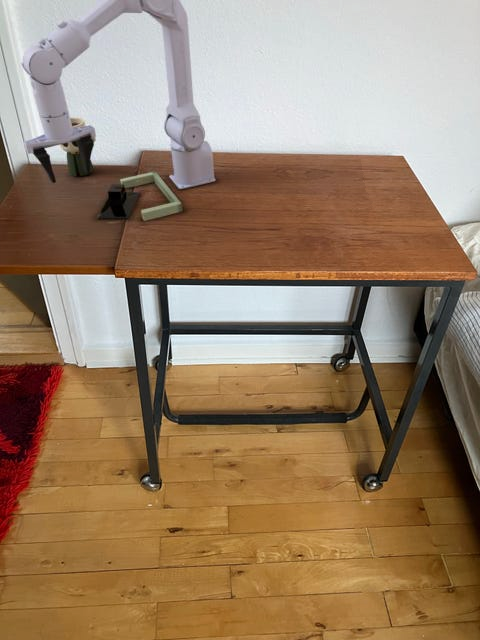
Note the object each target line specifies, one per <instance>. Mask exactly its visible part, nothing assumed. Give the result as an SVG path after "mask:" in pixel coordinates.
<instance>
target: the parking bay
mask: <svg viewBox="0 0 480 640" xmlns="http://www.w3.org/2000/svg"><path fill="white" fill-rule="evenodd" d="M150 178H153V179H150ZM143 179H148V180H144V181H139V182H136V181H137V180H143ZM119 182H120V184H124V186H125V189H130V188H133V187H138V186H143V185H147V184H150V183H151V184H152V183H155V185H156V186H157V187H158V188H159V190H160V191H161V192H162V194H163V195H164V196H165V198H166V199H167V200H168V201H169V202H168V203H164V204H161V205H157V206H152V207H149V208H145V209H140V213H141V218H142V220H143V221H144V222H146V221H149V220H150V221H151V220H154V219H158V218H161V217H166V216H170V215H173V214H179V213H182V212H183V204H182V202H181V201H180V200H179V198H178V197H177V196H176V194H175V193H174V192H173V191H172V190H171V189H170V188H169V186H168V185H167V184H166V182H165V181H164V179H162V177H160V174H158V173H157V172H156V171H151V172H147V173H142V174H137V175H133V176H128V177H124V178H119Z"/></svg>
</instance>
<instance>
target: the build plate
mask: <svg viewBox="0 0 480 640" xmlns="http://www.w3.org/2000/svg"><path fill="white" fill-rule="evenodd" d="M107 195H108V197H107V199H106V200H105V201H106V202H105V203H104V205H103V207H102V209H101V210H100V212H99V214H98V215H97V217H96V218H97V220H107V221H108V220H110V221H111V220H119V221H121V220H122V221H123V220H126V221H127V220H129V219H130V217H131V215H132V212H133V210H134V208H135V206H136V204H137V202H138V200H139V197H140V195H141V192H138V191H137V192H136V191H135V192H134V191H133V192H132V191H129V192H127V188H125V186H124V184H121V183H120V184H119V183H115V184H114V183H113V184H111V185H110V187H109V188H108V190H107Z"/></svg>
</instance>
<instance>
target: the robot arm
mask: <svg viewBox="0 0 480 640" xmlns="http://www.w3.org/2000/svg"><path fill="white" fill-rule="evenodd" d="M143 12H144V13H147V14H149V16H150V17H152V18H153V19H154V20H155V21H156V22H158V23H159V24H160V25H161V30H162V40H163V48H164V60H165V69H166V70H165V71H166V80H167V81H166V82H167V90H168V101H169V103H168V105H167V106H166V108H165V119H164V123H163V129H164V132H165V134H166V135H167V137H169V138H170V139H169V140H170V152H171V159H172V161H171V162H172V168H173V174H170V175H169V179H170V180H171V181H172V182H173V184H174V185H175V186H176V187H177V188H178V189H179V190H185V189H189V188H193V187H197V186H201V185H206V184H209V183H214V182H216V177H215V167H214V166H215V165H214V155H213V150H212V147H211V145H210V143H209V141H207V140H205V137H206V131H205V128H204V126H203V124H202V121H201V115H200V113H199V111H198V109H197V107H196V106H195V103H194V92H193V91H194V90H193V77H192V62H191V47H190V35H189V34H190V33H189V23H188V21H189V20H188V19H189V18H188V13H187V11H186V9H185V8H184V6H183V4H182V2H181V0H99V1H98V2H97V3H96V4H95V5H94V6H93V7H91V8H90V10H88V11H87V12H86V13H85V14H84V15H83V16H82V17H81V18H80V19H79V20H74V19H69V18H68V19H67V20H66V21H64V20H62V19H60V20H59V21H58V22H57V23H56V25H57V27H56V29H54V30H53V31H52V32H51V33H49V34H48V35H47V36H46V37H45V38H42V37H40V38H39V39H38V40H37V43H38V44H39V45H38V44H37V45H30V46H29V47H27V48H26V49H25V51H24V52H23V56H22V62H21V67H22V68H23V70H24V71H25V72H26V74H28V75H29V80H30V86H31V87H32V94H33V98H34V101H35V105H36V108H37V112H38V115H39V119H40V123H41V127H42V130H43V133H44V134H41V135H39V136H36V137H34V138H32V139H29V140H25V141H23V142H22V143H23V146H24V150H25V152H26V153H27V154H28V155H31V154H33V155H34V157H35V158H36V160H37V161H38V162H39V164H41V166H42V167H43V169H44V171H45V173H46V174H47V176H48V179H49V181H50V182H51V183H52V184H56V183H57V178H56V176H55V173H54V171H53V166H52V162H51V156H50V154H49V153H48V151H47V150H46V149H49V148H52V147H56V146H60V144H64V143H68V142H72V141H76V143H77V146H78V149H79V152H80V156H81V161H82V166H83V169H84V171H85V172H86V173H89V174H91V173H90V159H91V157H92V152H93V150H94V147H95V142H94V141H93V139H91V137H95V138H96V137H97V134H96V128H95V127H94V126H93V125H92V124H90V125H89V124H88V125H85V126H83V127H75V128H72V124H71V120H70V118H71V116H70V112H69V108H68V104H67V100H66V96H65V90H64V87H63V85H62V80H61V76H62V73H63V69H65V68H66V67H68V66H69V65H70V64H71V63H73V62H74V61H75V60H76V59H77V58H78V57H79V56H81V55H82V54H83V53H84V52H86V51H87V50H88V49H89V48H90V45H91V38H92V37H93V36H94V35H96V34H97V33H98V32H99V31H101V30H102V29H104V28H105V27H106V26H107V25H109V24H111V22H113V21H115V20H116V19H117V18H119V17H120V16H121V15H123V14H143Z"/></svg>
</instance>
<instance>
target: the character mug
mask: <svg viewBox="0 0 480 640" xmlns="http://www.w3.org/2000/svg"><path fill="white" fill-rule="evenodd" d="M70 120H71V124H72V128H75V127H83V126H86V121H85V120H84V119H83V118H82V117H74V116H73V117H72V116H71V117H70ZM91 139H93V141H94V143H95V142H96V137H91ZM59 147H60V148H61V150H63V151H64V152H66V163H67V170H68V174H69V175H71V176H75V177H77V174H79V176H86V175H88V174H91V173H92V172H93V170H94V166H93V162H92V160H91V158H90V173H86V172H85V171H84V169H83V166H82V161H81V156H80V152H79V149H78V146H77V143H76V141H72V142H68V143H64V144H60V145H59Z"/></svg>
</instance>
